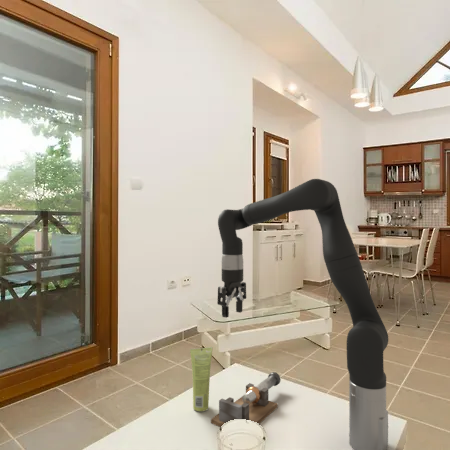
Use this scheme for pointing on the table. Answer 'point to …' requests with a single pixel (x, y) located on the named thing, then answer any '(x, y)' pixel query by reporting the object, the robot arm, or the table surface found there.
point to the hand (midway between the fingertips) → (232, 314)
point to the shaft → (260, 388)
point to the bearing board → (253, 412)
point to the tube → (201, 377)
